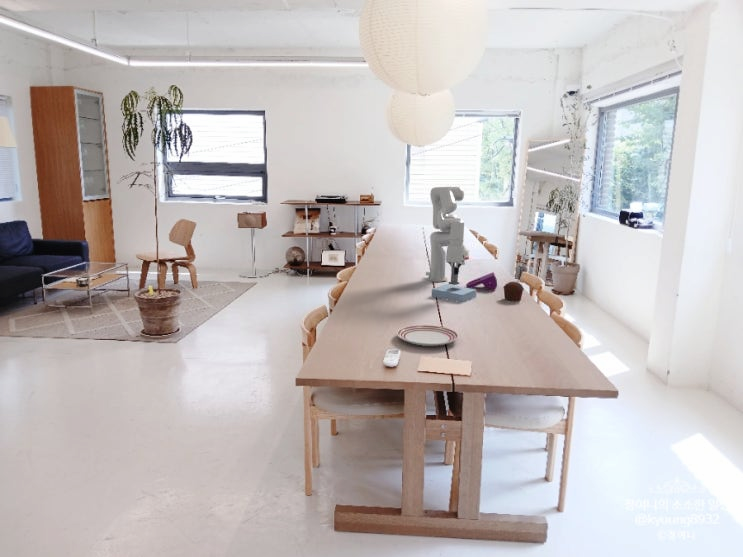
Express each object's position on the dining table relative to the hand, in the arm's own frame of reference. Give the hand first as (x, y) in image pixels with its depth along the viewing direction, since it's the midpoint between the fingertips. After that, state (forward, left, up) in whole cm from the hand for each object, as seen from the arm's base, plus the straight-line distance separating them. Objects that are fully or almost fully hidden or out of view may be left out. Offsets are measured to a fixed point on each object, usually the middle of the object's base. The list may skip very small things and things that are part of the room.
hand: (454, 274), depth 315 cm
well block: (0, 0, -14) cm, 14 cm away
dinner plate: (+29, -72, -14) cm, 79 cm away
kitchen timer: (-57, +106, -14) cm, 121 cm away
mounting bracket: (+2, +30, -14) cm, 33 cm away
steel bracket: (0, -1, -6) cm, 6 cm away
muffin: (+28, +18, -14) cm, 36 cm away
